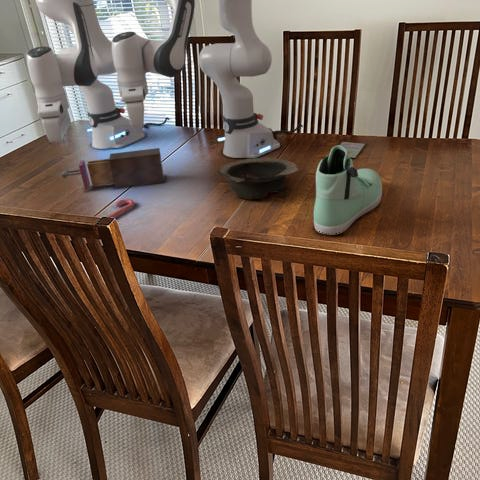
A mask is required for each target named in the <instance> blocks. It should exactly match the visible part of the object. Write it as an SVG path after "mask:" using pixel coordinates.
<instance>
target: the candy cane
mask: <svg viewBox="0 0 480 480" xmlns="http://www.w3.org/2000/svg"><path fill="white" fill-rule="evenodd" d="M124 204H125V206H123V207H121V208H119V209H117V210H115V211H114V212H112V213H110V214H108V215H107V216H106V217H114V218H116V217H118V216H119V215H122V214H123V213H125V212H126V211H128V210H130V209H132V208H133V207H134V206H135V201H134V200H133V199H130V198H123V199H119V200H118V201H116V202H115V206H116V207H120V206H121V205H124Z"/></svg>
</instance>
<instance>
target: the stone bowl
mask: <svg viewBox="0 0 480 480" xmlns="http://www.w3.org/2000/svg"><path fill="white" fill-rule="evenodd" d="M298 170H299V169H298V167H297V166H296V164H295V163H293V162H291V161H289V160H287V159H281V158H272V157H271V158H269V157H256V158H242V159H239V160H235V161H232V162H231V161H230V162H228V163H225V164H223V165H222V166H221V168H220V169H219V170H217V173H219V174H220V175H221V176H223V177H224V178H226V179H227V180H228V182H229V186H230V188H231V190H232V191H234V192H235V193H236V196H237V198H239V199H241V200H243V199H245V200H251V201H252V200H255V199H257V200H262V199H264V198H266V197H267V196H268V193H269V194H273V193H281V192H282V191H284V190H285V189H284V188H285V185H286V183H287V182H286V181H287V177H289V176H290V175H292V174H294V173H296V172H297V171H298Z"/></svg>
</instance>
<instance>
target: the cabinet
mask: <svg viewBox="0 0 480 480" xmlns="http://www.w3.org/2000/svg"><path fill="white" fill-rule="evenodd" d="M161 156H162V155H161V149H160V147H157V148H148V149H139V150H132V151H131V150H130V151H123V152H114V153H113V152H112V153H110V154H109V158H108V159H109V163H110V167H111V171H112V176H113V180H114V184H113V185H114V188H115V189H123V188H131V187H138V186H146V185H155V184H161V183H162V184H163V183H165V173H164V167H163V162H162V157H161Z"/></svg>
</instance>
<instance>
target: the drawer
mask: <svg viewBox="0 0 480 480" xmlns="http://www.w3.org/2000/svg"><path fill="white" fill-rule="evenodd" d="M78 168H79V169H70V170H69V169H66V168H65V169H63V171H62V173H61V177H62V178H64V179H66V178H68V177H70V176H76V175H77V176H78V175H80V176H81V180H82V183H83V187H84V190H88V189H89V188H90V184H91V186H92V187H100V186H109V185H114V180H113V176H112V171H111V167H110V163H109V158H105V159H104V158H103V159H95V160H88V161H87V164H86V162H85V160H84V159H83V160H80V161H79V164H78Z"/></svg>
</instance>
